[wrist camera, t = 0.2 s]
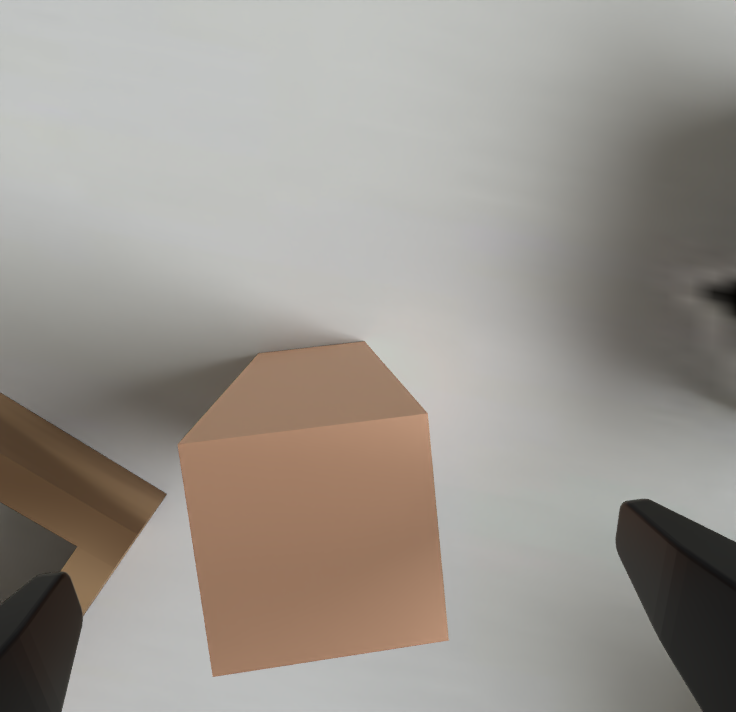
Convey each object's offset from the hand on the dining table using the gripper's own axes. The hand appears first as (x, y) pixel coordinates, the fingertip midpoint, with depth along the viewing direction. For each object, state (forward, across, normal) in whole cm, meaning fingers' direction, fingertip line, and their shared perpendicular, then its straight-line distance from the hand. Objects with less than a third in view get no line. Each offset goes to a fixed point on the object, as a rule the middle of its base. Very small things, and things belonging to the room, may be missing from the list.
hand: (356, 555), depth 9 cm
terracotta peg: (+15, +1, +4) cm, 15 cm away
